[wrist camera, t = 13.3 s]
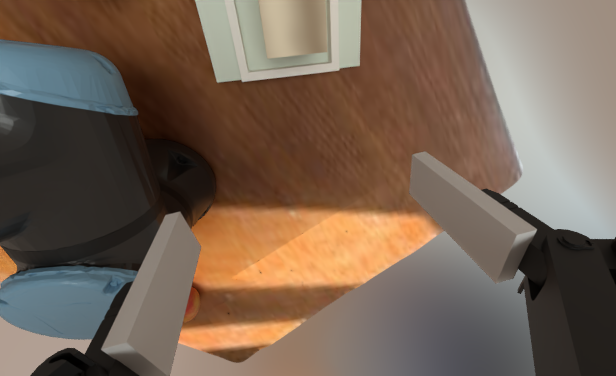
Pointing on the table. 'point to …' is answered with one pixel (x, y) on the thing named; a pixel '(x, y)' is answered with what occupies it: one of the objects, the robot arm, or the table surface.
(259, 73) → the chassis bay
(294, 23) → the tan wooden block
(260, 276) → the table surface
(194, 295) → the apple
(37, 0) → the table surface
